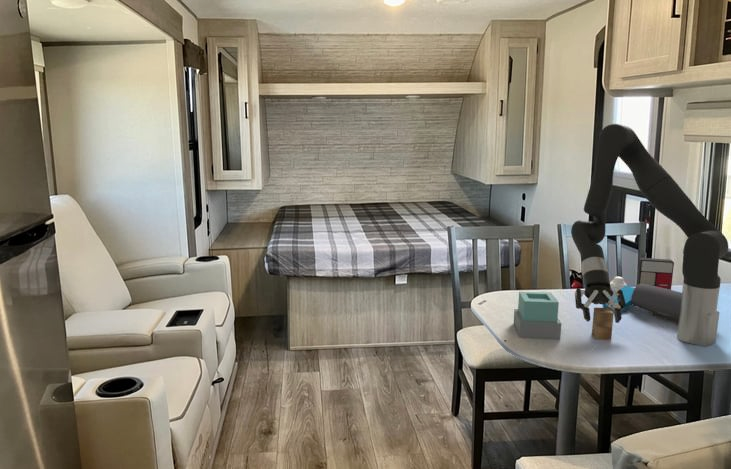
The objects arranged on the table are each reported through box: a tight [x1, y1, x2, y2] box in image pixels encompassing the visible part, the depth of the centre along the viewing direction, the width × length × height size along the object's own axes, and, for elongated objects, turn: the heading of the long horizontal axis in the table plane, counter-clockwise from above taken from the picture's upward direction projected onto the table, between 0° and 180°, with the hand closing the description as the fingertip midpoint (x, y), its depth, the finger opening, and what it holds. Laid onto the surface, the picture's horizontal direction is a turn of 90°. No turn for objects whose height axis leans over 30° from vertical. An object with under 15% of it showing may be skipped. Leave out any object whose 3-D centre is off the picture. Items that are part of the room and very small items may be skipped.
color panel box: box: [636, 257, 675, 290], centre depth 202 cm, size 11×4×15 cm, turn 73°
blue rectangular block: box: [602, 285, 635, 314], centre depth 195 cm, size 7×7×18 cm
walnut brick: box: [591, 307, 614, 340], centre depth 165 cm, size 4×4×8 cm
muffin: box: [610, 276, 628, 291], centre depth 209 cm, size 6×6×7 cm
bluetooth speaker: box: [631, 284, 682, 324], centre depth 181 cm, size 23×9×10 cm, turn 30°
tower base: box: [513, 291, 562, 340], centre depth 170 cm, size 12×12×11 cm
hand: (603, 321), depth 165 cm, fingers open, 8 cm apart
